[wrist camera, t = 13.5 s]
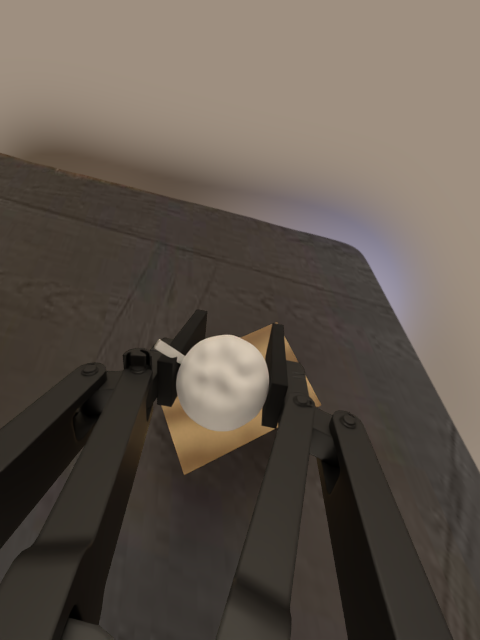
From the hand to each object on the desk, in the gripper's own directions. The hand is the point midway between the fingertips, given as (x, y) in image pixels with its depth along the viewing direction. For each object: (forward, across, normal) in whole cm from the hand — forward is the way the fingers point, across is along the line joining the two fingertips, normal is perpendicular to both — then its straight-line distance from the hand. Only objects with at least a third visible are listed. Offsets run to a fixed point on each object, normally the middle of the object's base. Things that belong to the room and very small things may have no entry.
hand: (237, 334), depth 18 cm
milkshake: (0, 0, -5) cm, 5 cm away
